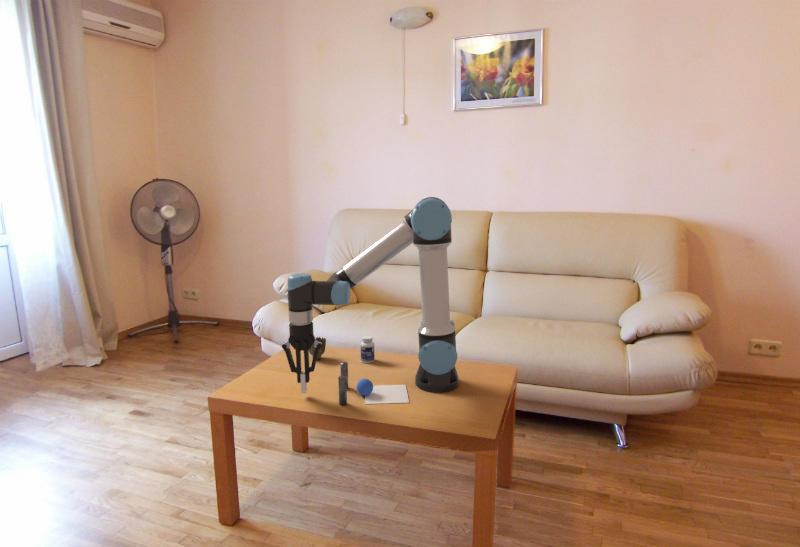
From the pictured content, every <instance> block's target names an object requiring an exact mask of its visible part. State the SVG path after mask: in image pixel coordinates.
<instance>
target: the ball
mask: <svg viewBox="0 0 800 547" xmlns="http://www.w3.org/2000/svg"><path fill="white" fill-rule="evenodd" d="M373 386H374V383H373V382H372V381H371V380H370V379H368V378H362V379H360V380H358V382H357V384H356V391H357V393H358V394H359V395H361V396H364V397H365V396H367V395H369V394H370V393H371V392H372V391H373Z"/></svg>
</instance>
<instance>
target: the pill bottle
mask: <svg viewBox="0 0 800 547" xmlns="http://www.w3.org/2000/svg"><path fill="white" fill-rule="evenodd" d="M361 338H362V339H361V340H362V342H361V343H360V362H362V363H363V364H371V362H372V363H373V362H375V342H374V341H373V339H374V338H373V336H371V335H364V336H362V337H361Z"/></svg>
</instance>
